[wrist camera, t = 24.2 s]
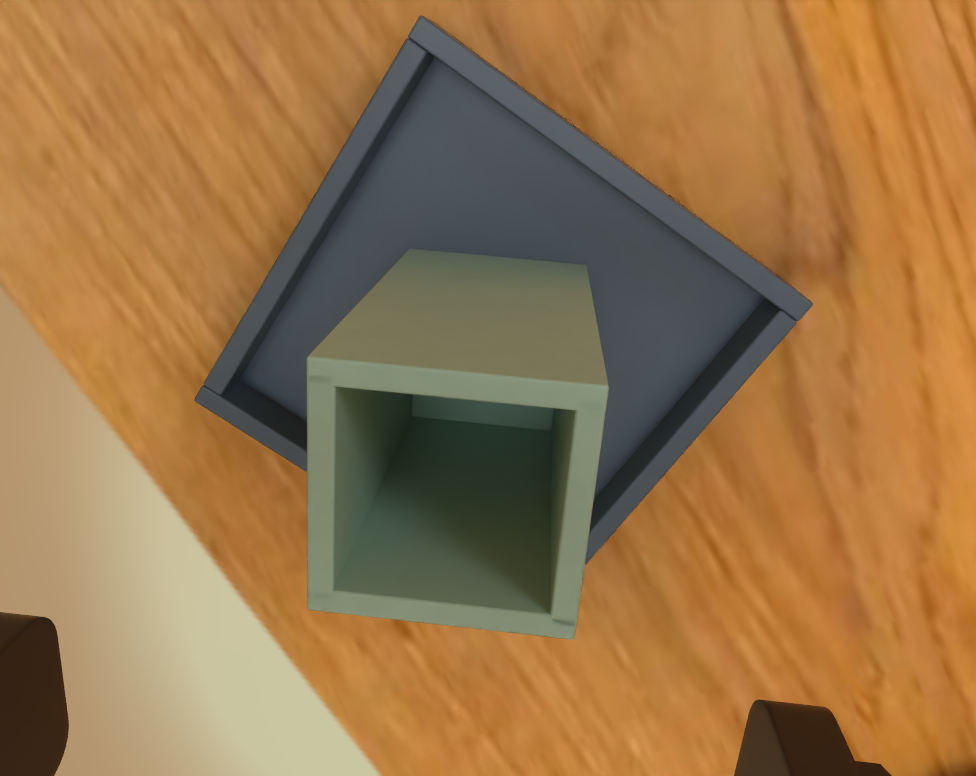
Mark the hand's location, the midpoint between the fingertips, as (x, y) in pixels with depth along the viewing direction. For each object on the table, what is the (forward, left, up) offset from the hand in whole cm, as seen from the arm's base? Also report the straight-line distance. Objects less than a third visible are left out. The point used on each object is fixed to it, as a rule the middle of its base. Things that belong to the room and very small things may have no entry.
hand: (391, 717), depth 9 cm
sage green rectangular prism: (-2, -1, -10) cm, 10 cm away
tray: (0, 0, -16) cm, 16 cm away
